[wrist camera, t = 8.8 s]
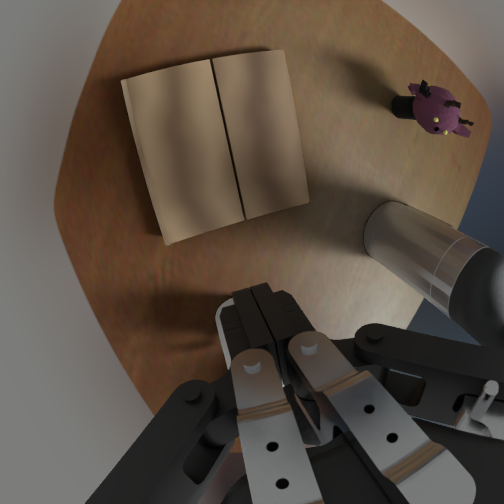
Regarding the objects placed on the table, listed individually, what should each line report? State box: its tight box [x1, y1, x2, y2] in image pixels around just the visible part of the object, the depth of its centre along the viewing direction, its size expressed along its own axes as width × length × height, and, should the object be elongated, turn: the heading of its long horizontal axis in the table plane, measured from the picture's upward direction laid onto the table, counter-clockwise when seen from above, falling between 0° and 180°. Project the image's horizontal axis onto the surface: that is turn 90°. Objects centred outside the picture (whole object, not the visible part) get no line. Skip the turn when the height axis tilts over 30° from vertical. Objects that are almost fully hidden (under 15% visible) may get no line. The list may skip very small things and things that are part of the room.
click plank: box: [121, 59, 244, 246], centre depth 30 cm, size 9×18×2 cm, turn 11°
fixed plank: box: [210, 50, 310, 219], centre depth 31 cm, size 8×18×2 cm, turn 11°
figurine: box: [392, 80, 474, 138], centre depth 29 cm, size 8×8×12 cm
